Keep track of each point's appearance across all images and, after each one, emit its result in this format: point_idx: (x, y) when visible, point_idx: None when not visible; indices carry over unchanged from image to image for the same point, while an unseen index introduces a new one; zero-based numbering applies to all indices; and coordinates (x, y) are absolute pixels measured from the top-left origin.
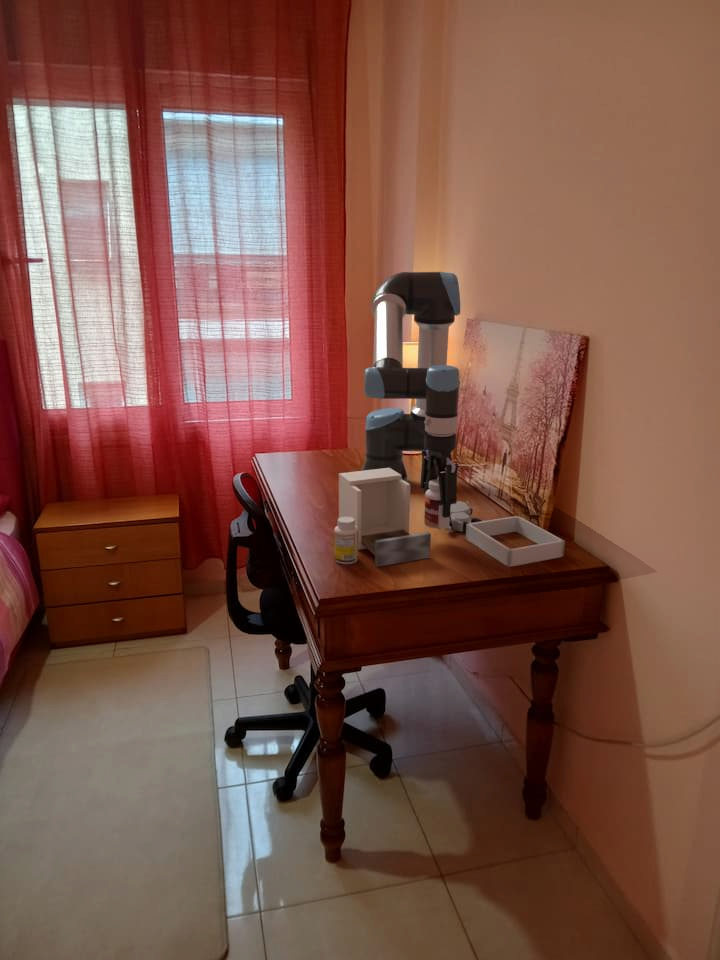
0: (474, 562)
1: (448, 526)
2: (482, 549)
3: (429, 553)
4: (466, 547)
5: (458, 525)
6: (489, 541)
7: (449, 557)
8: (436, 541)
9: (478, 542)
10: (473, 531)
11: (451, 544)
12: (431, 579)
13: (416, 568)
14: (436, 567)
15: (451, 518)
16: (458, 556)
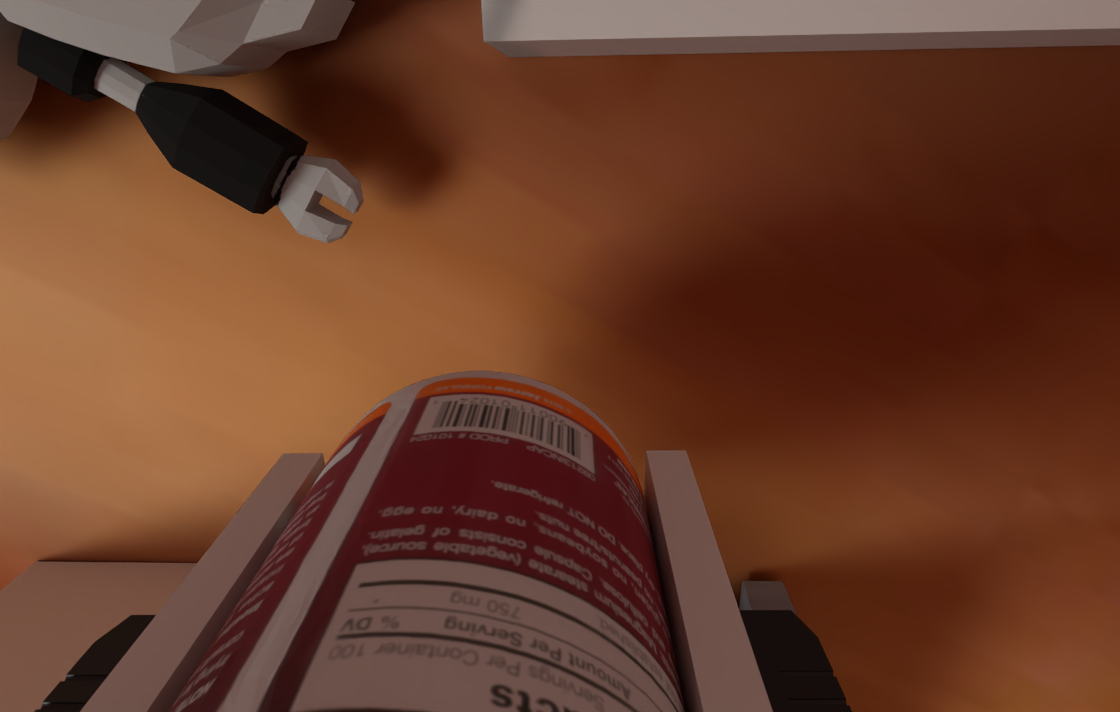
0: (1049, 299)
1: (689, 473)
2: (863, 49)
3: (793, 611)
4: (721, 180)
5: (291, 39)
6: (1098, 32)
7: (836, 436)
8: (477, 370)
9: (792, 48)
10: (684, 41)
11: (593, 280)
12: (1068, 698)
13: (868, 703)
14: (934, 598)
15: (107, 54)
16: (860, 360)
